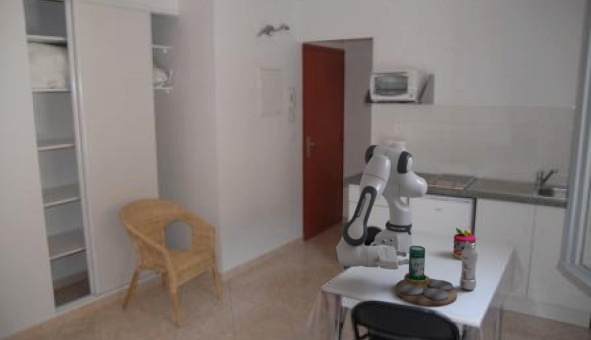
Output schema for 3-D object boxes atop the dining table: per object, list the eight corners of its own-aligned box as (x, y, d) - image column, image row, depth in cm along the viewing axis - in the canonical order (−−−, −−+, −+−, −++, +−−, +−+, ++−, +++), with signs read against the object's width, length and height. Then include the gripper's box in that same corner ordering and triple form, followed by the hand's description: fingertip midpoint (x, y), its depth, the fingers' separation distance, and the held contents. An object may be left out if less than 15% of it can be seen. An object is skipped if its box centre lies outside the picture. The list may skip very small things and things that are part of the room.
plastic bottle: (455, 288, 197) (458, 242, 194) (465, 284, 201) (467, 239, 198) (469, 293, 192) (472, 246, 189) (479, 289, 196) (481, 242, 193)
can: (412, 285, 195) (413, 250, 192) (406, 280, 201) (407, 246, 198) (426, 284, 196) (427, 249, 194) (419, 278, 202) (420, 245, 200)
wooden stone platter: (388, 299, 187) (388, 288, 186) (403, 278, 208) (403, 268, 207) (451, 311, 176) (452, 299, 175) (460, 288, 197) (461, 277, 196)
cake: (464, 252, 241) (466, 224, 239) (479, 259, 231) (481, 229, 229) (448, 255, 237) (449, 226, 235) (462, 262, 227) (464, 232, 225)
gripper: (375, 257, 188) (410, 259, 186) (373, 242, 208) (405, 243, 206) (375, 272, 189) (410, 274, 187) (372, 256, 209) (404, 257, 207)
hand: (407, 257), depth 197 cm, fingers open, 8 cm apart
